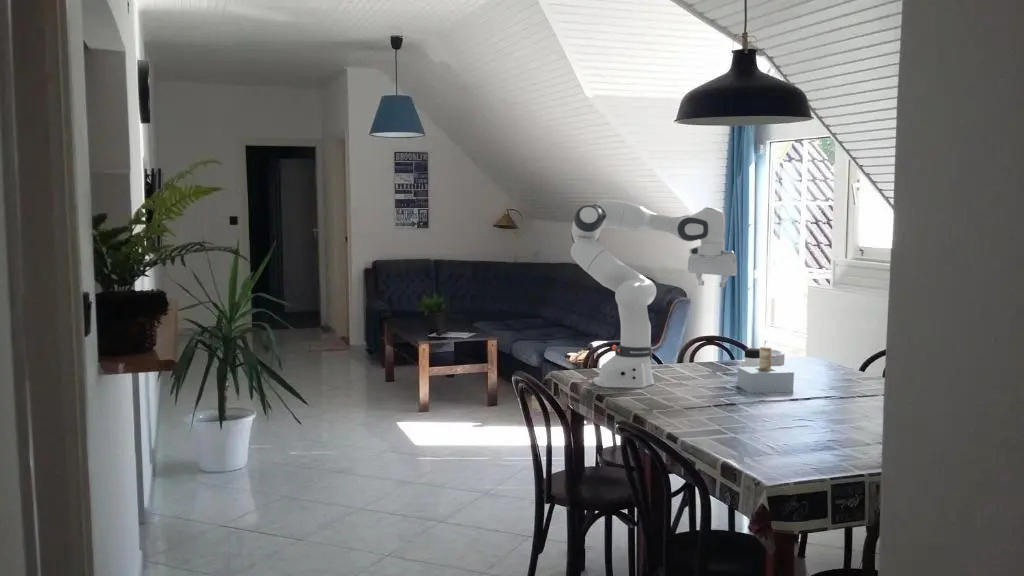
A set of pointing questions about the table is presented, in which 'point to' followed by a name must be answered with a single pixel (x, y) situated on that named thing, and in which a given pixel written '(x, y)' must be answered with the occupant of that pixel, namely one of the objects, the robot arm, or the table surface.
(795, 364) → the table surface
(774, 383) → the socket block
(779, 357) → the paper bowls
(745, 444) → the table surface
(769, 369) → the peg
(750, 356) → the medicine bottle
